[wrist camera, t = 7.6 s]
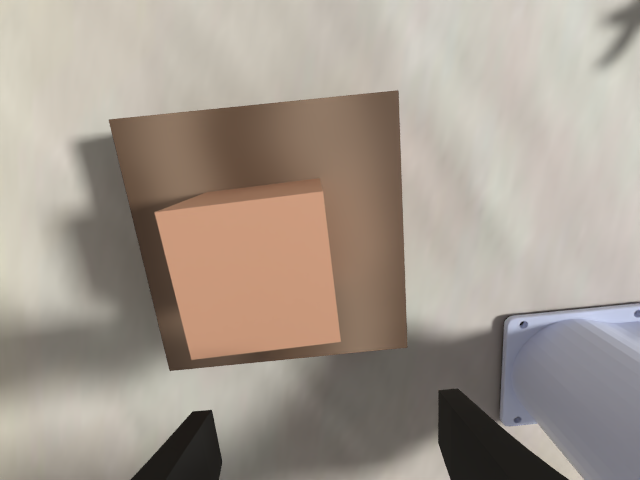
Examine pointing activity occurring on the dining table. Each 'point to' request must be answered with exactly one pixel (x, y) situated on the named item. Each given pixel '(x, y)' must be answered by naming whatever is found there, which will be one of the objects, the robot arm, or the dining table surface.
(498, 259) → the dining table surface
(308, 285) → the terracotta cube
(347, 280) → the walnut plinth
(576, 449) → the robot arm
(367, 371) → the dining table surface
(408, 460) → the dining table surface
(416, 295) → the dining table surface
